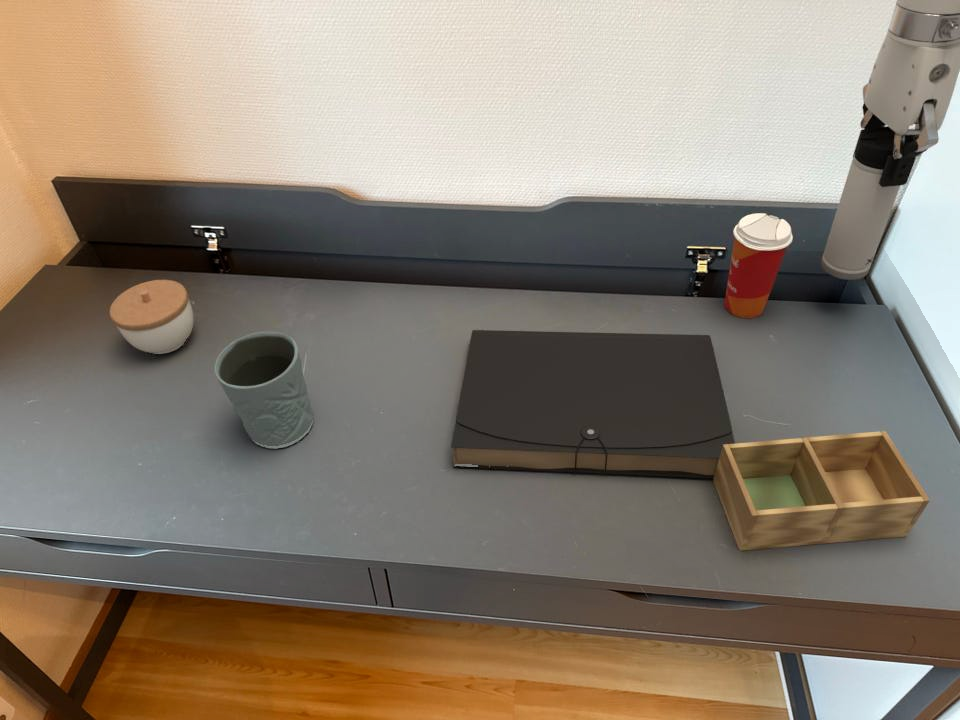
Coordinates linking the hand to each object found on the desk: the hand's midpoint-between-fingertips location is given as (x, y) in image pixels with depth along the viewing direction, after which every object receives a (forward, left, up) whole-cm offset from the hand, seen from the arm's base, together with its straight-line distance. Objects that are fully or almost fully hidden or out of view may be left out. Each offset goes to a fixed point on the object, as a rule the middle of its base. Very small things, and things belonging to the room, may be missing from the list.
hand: (878, 170), depth 89 cm
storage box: (+17, +34, -22) cm, 44 cm away
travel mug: (0, 0, -15) cm, 15 cm away
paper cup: (+12, -1, -22) cm, 25 cm away
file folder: (+39, +16, -22) cm, 47 cm away
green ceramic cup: (+79, +15, -22) cm, 84 cm away
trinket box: (+99, -4, -22) cm, 102 cm away
